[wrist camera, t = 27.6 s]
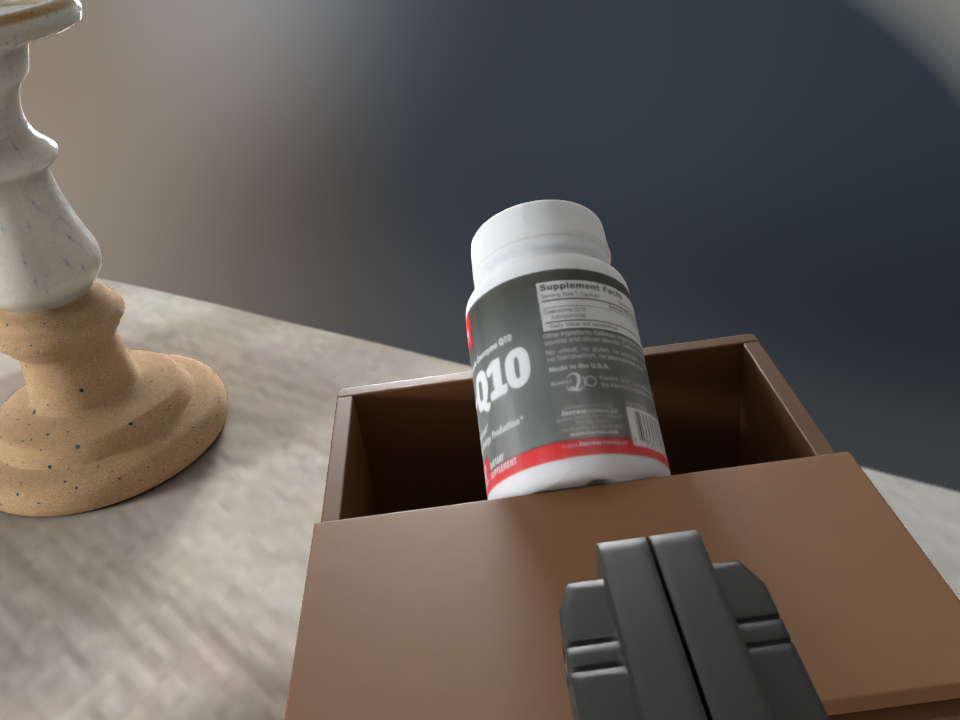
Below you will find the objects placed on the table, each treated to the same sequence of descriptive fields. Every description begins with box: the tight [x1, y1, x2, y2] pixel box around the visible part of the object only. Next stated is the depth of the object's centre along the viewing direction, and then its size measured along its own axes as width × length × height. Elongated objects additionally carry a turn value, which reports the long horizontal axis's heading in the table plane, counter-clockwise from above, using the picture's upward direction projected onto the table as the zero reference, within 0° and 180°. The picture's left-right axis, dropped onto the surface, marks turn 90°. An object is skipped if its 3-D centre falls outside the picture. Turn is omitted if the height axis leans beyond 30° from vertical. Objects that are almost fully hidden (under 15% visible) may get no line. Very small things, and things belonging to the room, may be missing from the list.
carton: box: [321, 334, 960, 720], centre depth 24 cm, size 13×14×10 cm
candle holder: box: [0, 0, 228, 517], centre depth 40 cm, size 12×12×20 cm
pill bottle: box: [466, 200, 671, 500], centre depth 25 cm, size 5×5×8 cm
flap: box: [285, 452, 960, 720], centre depth 19 cm, size 13×7×1 cm, turn 94°
